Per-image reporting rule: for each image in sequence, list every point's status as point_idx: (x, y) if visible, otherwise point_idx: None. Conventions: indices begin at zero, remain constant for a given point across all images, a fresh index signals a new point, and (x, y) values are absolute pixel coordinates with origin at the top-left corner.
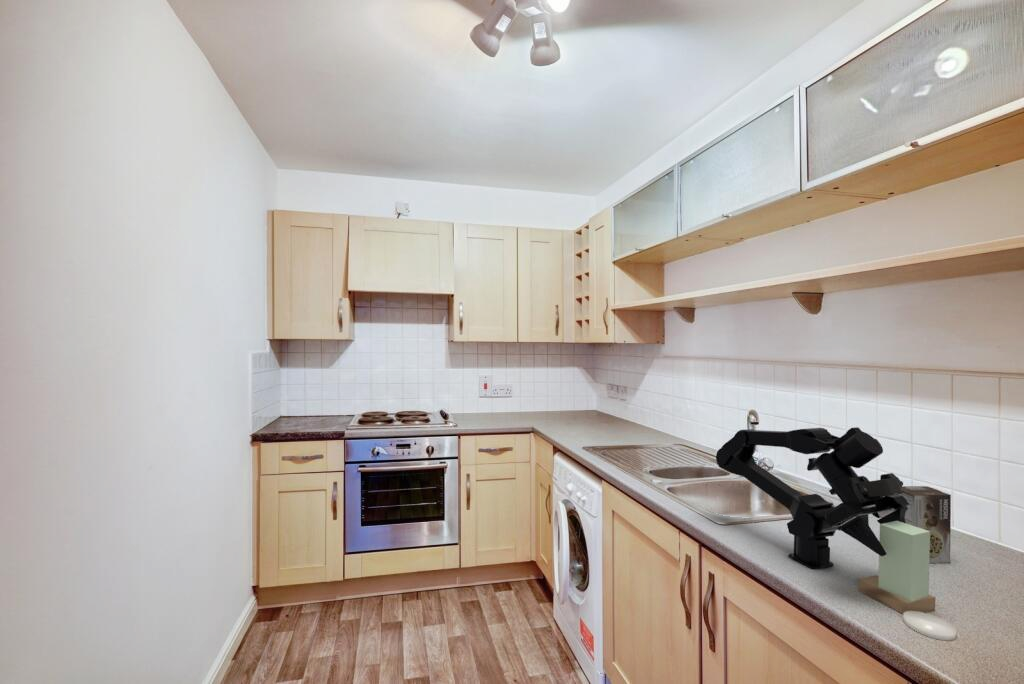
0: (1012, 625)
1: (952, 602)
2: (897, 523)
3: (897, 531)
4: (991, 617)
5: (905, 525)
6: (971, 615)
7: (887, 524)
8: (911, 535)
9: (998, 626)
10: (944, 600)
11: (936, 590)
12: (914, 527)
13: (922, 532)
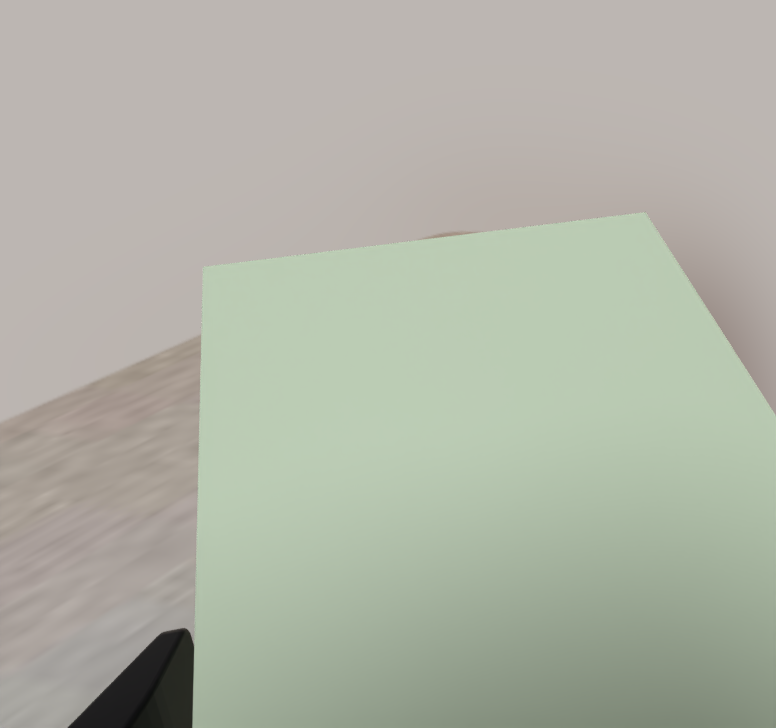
0: (115, 378)
1: (122, 563)
2: (427, 712)
3: (740, 386)
4: (118, 431)
5: (346, 556)
6: (183, 457)
7: (774, 696)
8: (649, 225)
9: (179, 383)
10: (137, 587)
11: (34, 696)
12: (268, 434)
13: (380, 256)
